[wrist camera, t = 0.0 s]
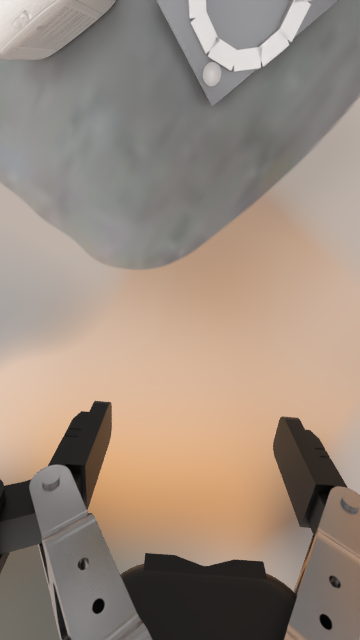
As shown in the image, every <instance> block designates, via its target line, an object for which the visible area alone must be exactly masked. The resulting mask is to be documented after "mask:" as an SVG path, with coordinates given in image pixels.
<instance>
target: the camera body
mask: <svg viewBox="0 0 360 640" xmlns="http://www.w3.org/2000/svg"><path fill="white" fill-rule="evenodd" d="M156 1H157V2H158V4H159V6H160V8H161V10H162V12H163V14H164V16H165V18H166V20H167V22H168V24H169V25H170V27H171V29H172V31H173V33H174V35H175V37H176V39H177V41H178V43H179V45H180V47H181V48H182V50H183V52H184V54H185V56H186V58H187V60H188V62H189V64H190V66H191V68H192V70H193V71H194V73H195V75H196V77H197V79H198V81H199V83H200V85H201V87H202V89H203V91H204V93H205V94H206V96H207V98H208V100H209V102H210V104H211V106H212V107H213V106H214V105H215V104H216V103H217V102H219V101H220V100H221V99H222V98H223V97H224V96H226V95H227V94H228V93H229V92H230V91H232V90H233V89H234V88H235V87H236V86H238V85H239V84H240V83H241V82H242V81H243V80H245V79H246V78H247V77H248V76H249V75H251V74H252V73H253V72H254V71H255V70H257V69H258V68H261V66H262V67H264V66H265V65H266V64H267V63H269V62H270V61H271V60H272V59H273V58H275V57H276V56H277V55H278V54H279V53H281V52H282V51H283V50H284V49H285V48H286V47H288V46H289V42H292V40H293V39H294V38H295V37H296V36H297V35H298V34H299V33H300V32H302V31H303V30H304V29H305V28H306V27H308V26H309V25H310V24H311V23H312V22H313V21H315V20H316V19H317V18H318V17H319V16H321V15H322V14H323V13H324V12H325V11H327V10H328V9H329V8H330V7H331V6H332V5H334V4H335V3H336V2H337V1H338V0H156Z"/></svg>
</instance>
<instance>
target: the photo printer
mask: <svg viewBox="0 0 360 640" xmlns="http://www.w3.org/2000/svg"><path fill="white" fill-rule="evenodd" d="M115 1H116V0H0V59H18V60H41V59H44V58H46V57H49V56H51V55H52V54H54V53H55V52H57V51H58V50H60V49H61V48H63V47H64V46H65V45H66V44H68V43H69V42H70V41H72V40H73V39H74V38H76V37H77V36H78V35H79V34H81V33H82V32H83V31H84V30H86V29H87V28H88V27H90V26H91V25H92V24H93V23H94V22H96V21H97V20H98V19H99V18H100V17H101V16H103V15H104V14H105V13H106V12H107V11H108V10H109V9H110V8H111V7H112V5H113V4H114V3H115Z"/></svg>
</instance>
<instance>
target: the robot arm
mask: <svg viewBox="0 0 360 640" xmlns="http://www.w3.org/2000/svg"><path fill="white" fill-rule="evenodd" d="M111 408H112V406H111V402H101V401H95V402H94V403H93V406H92V407H91V410H90V412H80V413H79V414H78V415H77V416H76V417H75V418H73V420H72V422H71V423H70V425H69V427H68V429H67V431H66V433H65V435H64V437H63V439H62V440H61V442H60V444H59V446H58V448H57V450H56V452H55V454H54V456H53V457H52V459H51V461H50V463H49V465H48V466H47V467H45V468H43V469H41V470H40V471H39V472H37V473H36V475H34V477H33V478H32V479H31V480H28V481H25V482H21V483H16V484H11V485H6V486H4V485H3V482H2V481H1V480H0V573H1V570H2V568H3V566H4V564H5V562H6V559H7V557H8V555H9V553H10V552H11V551H15V550H18V549H22V548H26V547H29V546H33V545H37V544H38V546H39V550H40V555H41V558H42V563H43V566H44V571H45V575H46V579H47V583H48V587H49V590H50V595H51V600H52V605H53V610H54V615H55V619H56V623H57V627H58V632H59V635H60V640H359V639H360V495H359V494H358V493H356V492H355V491H353V490H351V489H349V488H347V486H346V484H345V483H344V481H343V479H342V477H341V476H340V474H339V472H338V470H337V469H336V467H335V465H334V464H333V462H332V460H331V459H330V458H329V455H328V453H327V452H326V451H325V448H324V447H323V445H322V443H321V442H320V440H319V438H317V436H315V435H314V434H313V433H312V432H311V431H310V430H305V429H304V427H303V425H302V423H301V421H300V420H299V419H298V418H292V417H281V418H280V420H279V424H278V428H277V431H276V435H275V439H274V443H273V450H274V456H275V459H276V461H277V464H278V467H279V470H280V472H281V475H282V478H283V481H284V483H285V486H286V489H287V492H288V495H289V497H290V500H291V503H292V505H293V508H294V511H295V514H296V516H297V519H298V522H299V525H300V527H308V528H311V530H312V532H313V536H312V539H311V543H310V545H309V548H308V551H307V554H306V557H305V560H304V563H303V566H302V569H301V572H300V575H299V578H298V581H297V584H296V586H295V589H294V592H293V591H292V590H291V589H290V588H288V587H287V586H286V585H285V584H284V583H282V582H281V581H279V580H278V579H276V578H275V577H273V576H271V575H268V574H266V572H265V568H264V563H263V562H260V561H247V560H231V561H227V562H223V563H219V564H215V565H211V566H201V565H199V564H196V563H194V562H191V561H188V560H186V559H183V558H180V557H178V556H175V555H164V554H148V553H146V554H145V563H144V564H141V565H138V566H135V567H133V568H130V569H129V570H127V571H125V572H123V573H122V574H121V575H120V573H119V571H118V569H117V566H116V564H115V562H114V560H113V558H112V555H111V553H110V551H109V548H108V546H107V544H106V542H105V539H104V537H103V535H102V532H101V530H100V528H99V526H98V523H97V521H96V519H95V517H94V515H93V514H92V513H90V514H89V513H88V511H87V510H88V507H89V504H90V500H91V497H92V494H93V491H94V488H95V485H96V482H97V479H98V475H99V473H100V469H101V466H102V463H103V460H104V457H105V454H106V451H107V448H108V445H109V441H110V436H111V428H112V421H111V420H112V417H111V416H112V414H111V412H112V411H111V410H112V409H111Z"/></svg>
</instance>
